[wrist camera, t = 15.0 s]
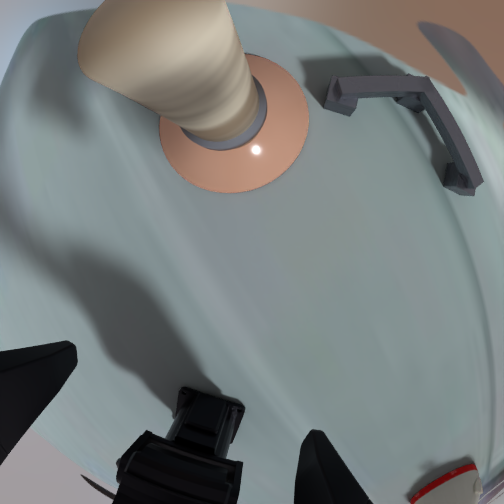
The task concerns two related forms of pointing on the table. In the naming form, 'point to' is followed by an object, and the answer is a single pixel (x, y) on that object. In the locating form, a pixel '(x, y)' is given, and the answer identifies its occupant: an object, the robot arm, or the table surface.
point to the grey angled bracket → (417, 99)
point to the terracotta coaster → (254, 153)
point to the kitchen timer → (452, 488)
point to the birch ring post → (177, 66)
